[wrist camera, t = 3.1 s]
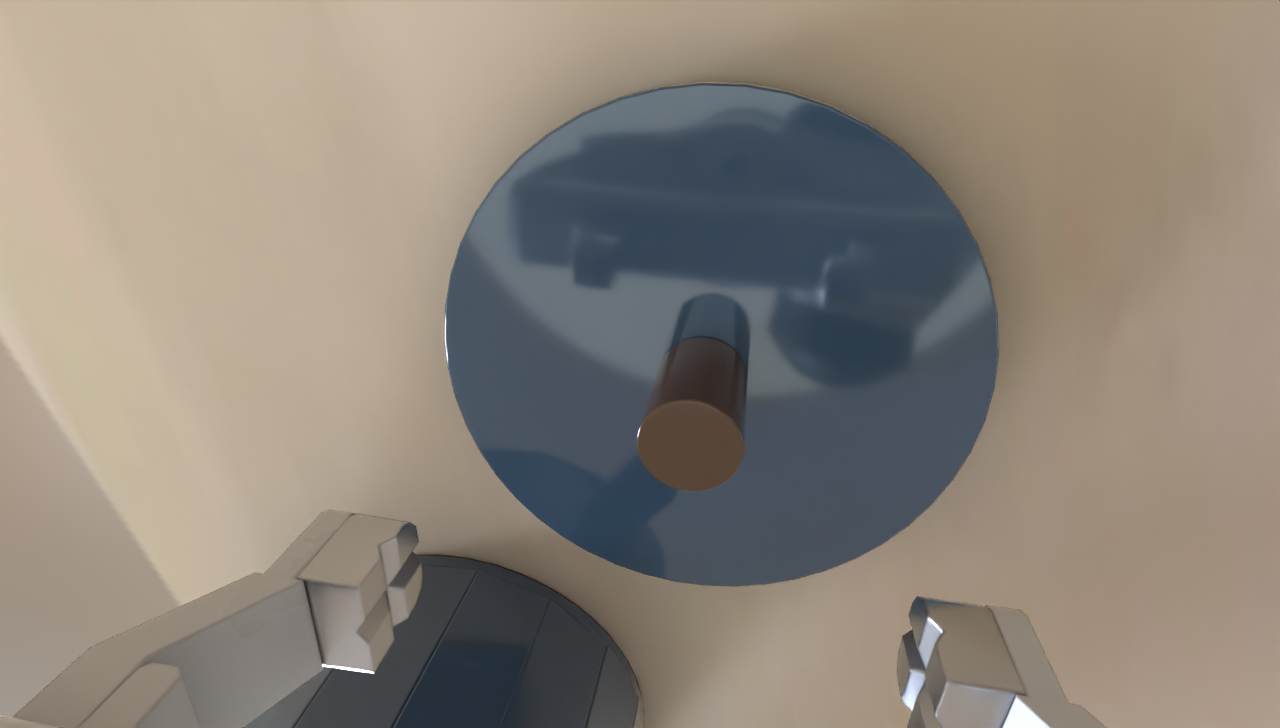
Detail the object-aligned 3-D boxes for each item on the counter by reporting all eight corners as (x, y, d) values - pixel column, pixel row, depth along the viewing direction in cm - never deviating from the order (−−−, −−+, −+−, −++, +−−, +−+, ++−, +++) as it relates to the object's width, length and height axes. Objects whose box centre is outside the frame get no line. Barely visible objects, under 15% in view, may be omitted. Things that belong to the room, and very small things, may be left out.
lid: (1107, 371, 17) (1216, 476, 13) (705, 627, 23) (693, 754, 19) (706, -70, 15) (682, -116, 11) (371, 348, 21) (272, 425, 17)
